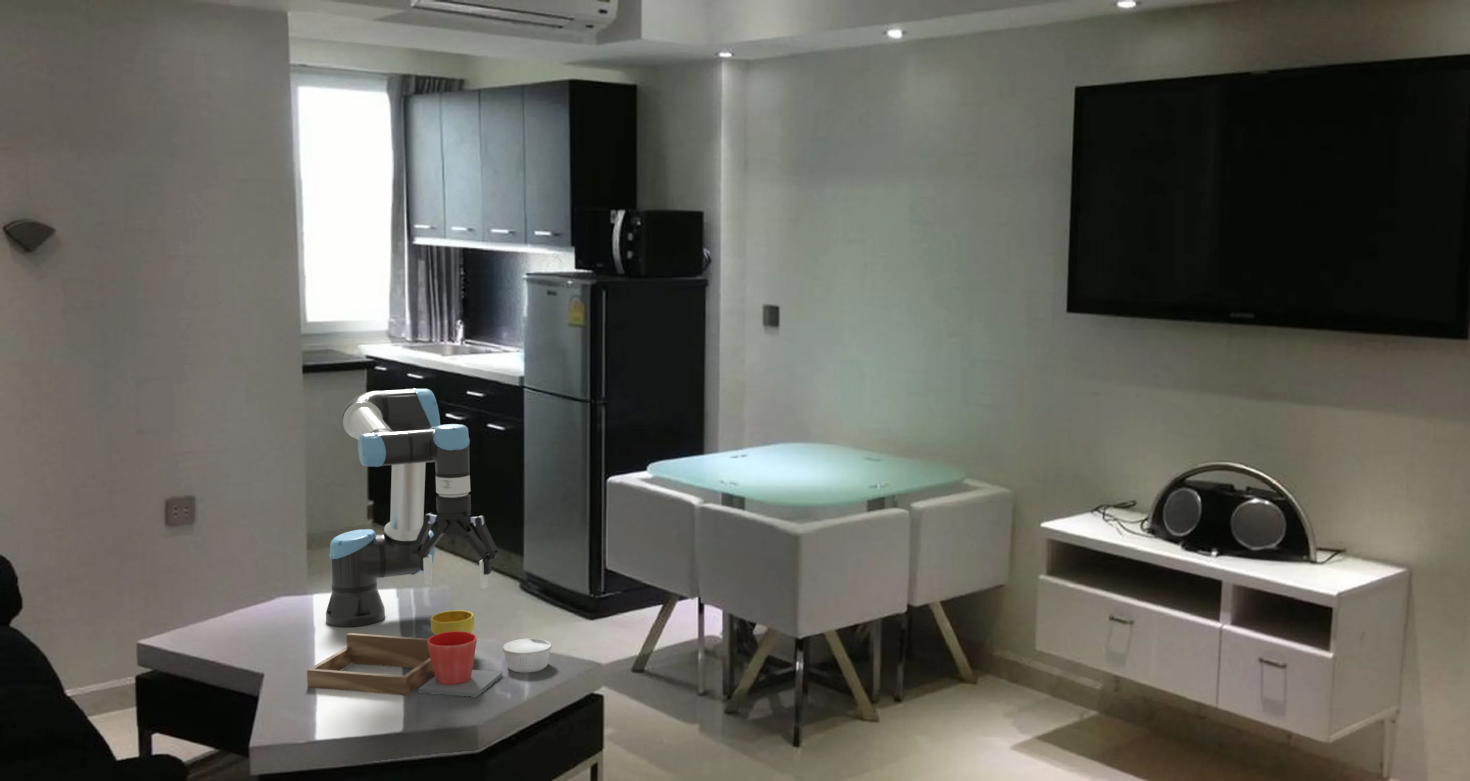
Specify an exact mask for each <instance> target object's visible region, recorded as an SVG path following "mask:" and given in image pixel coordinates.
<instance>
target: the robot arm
mask: <svg viewBox="0 0 1470 781" xmlns="http://www.w3.org/2000/svg"><path fill="white" fill-rule="evenodd" d="M341 425H342V427H343V429H344V431H345V432H346V433H347V434H348V435H349V436H350V437H351V438H354V439H356V440H357V441H358V442H357V449H358V459H359V462H360V464H361V465H362V466H363V467H375V468H380V467H384V466H385V467H386V466H391V480H390V481H391V484H390V485H391V486H390V518H389V519H390V520H389V522H387V523H386V524H385V525H384V528H383V529H384V530H383V531H384V532H383V533H380V534H377V533H376V532H375V530H373V529H370V528H366V529H365V528H364V529H355V530H351V531H347V532H344V533H343V532H342V533H341V534H338V535H336V536H335V537H333V539H332V540H331V541H330V545H329V547H330V548H329V559H330V578H331V584H330V585H331V594H330V598H329V600H328V604H327V608H326V612H325V621H326V623H327V624H328V625H330V626H334V627H346V628H347V627H359V626H360V627H361V626H367V625H370V624H375V623H378V622H380V621H382V620H383V619H385V617H386V611H385V610H386V609H385V605H384V603H383V601H382V598H381V595H380V592H379V590H378V579H383V578H391V577H400V576H407V575H409V576H414V575H415V576H416V575H417V574H422V573H423V586H424V587H429V586H431V585H432V584H433V563H434V559H435V555H436V554H435V552H436V548H435V546H436V545H437V544H438V542H439V541H440V540H441V539H442V537H444V535H446V536H452V535H453V536H456V537H460V536H462V537H463V538H464V539H465V540H466V541H467V542H468V543H469V545H470V546H471V547H472V548H473V549H474V551H475V552H476V553H477V554H478V556H479V557H480V558H481V560H479V561H478V563H479V564H478V565H479V566H478V568H479V569H478V570H479V590H481V591H483V590H484V591H485V589H487V588H488V587H489V575H490V574H491V572H492V559H495V558H497V557H498V556H499V555H500V552H499V550H498V548H497V545H496V543H495V542H494V540H493V537H492V535H491V533H490V531H489V529H488V527H487V525H486V520H485V515H479V516H472V513H471V511H472V504H471V503H472V502H471V501H472V500H471V499H472V498H471V494H469V493H470V492H471V476H470V471H471V470H470V467H471V466H470V442H471V440H470V437H469V428H468V427H467V426H466V425H464V424H457V423H450V424H449V423H448V424H441V419H440V412H439V406H438V403H437V399H436V397H435V394H434V393H433V391H432V390H431V389H428V388H415V387H413V388H405V389H391V390H390V389H389V390H371V391H367V392H364V393H363V392H362V393H361V394H360V395H359V394H358V395H357V396H356V397H354V398H353V399H351V400H350V401H349V402H348V403H347V404H346V405H345V407H344V408H343V410H342V413H341ZM426 463H434V466H435V468H434V469H435V492H436V494H437V495H436V496H435V502H436V514H434V513H433V512H429V513H426V514H425V513H424V511H425V486H426V483H425V482H426ZM424 514H425V515H424ZM435 523H436V524H437V525H438V528H437V530H436V531H434V532H433V530H431V529H432V527H433V524H435ZM471 525H473V526H474V527H475V528H476V531H477V533H478V535H479V537H480V538H479V537H478V535H477V534H476V533H475V531H474V529H473V527H472V526H471Z"/></svg>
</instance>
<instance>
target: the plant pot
mask: <svg viewBox="0 0 1470 781" xmlns="http://www.w3.org/2000/svg"><path fill="white" fill-rule="evenodd" d="M430 629H431V632H432V633H433V634H434V635H436V634H439V633H444V632H452V631H462V632H469V633H472V631H473V630H474V629H475V615H474V613H473V612H471V611H468V610H462V609H461V610H459V609H458V610H457V609H456V610H445V611H441V612H437V613H435V614H433V615H432V616H431V617H430Z"/></svg>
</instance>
